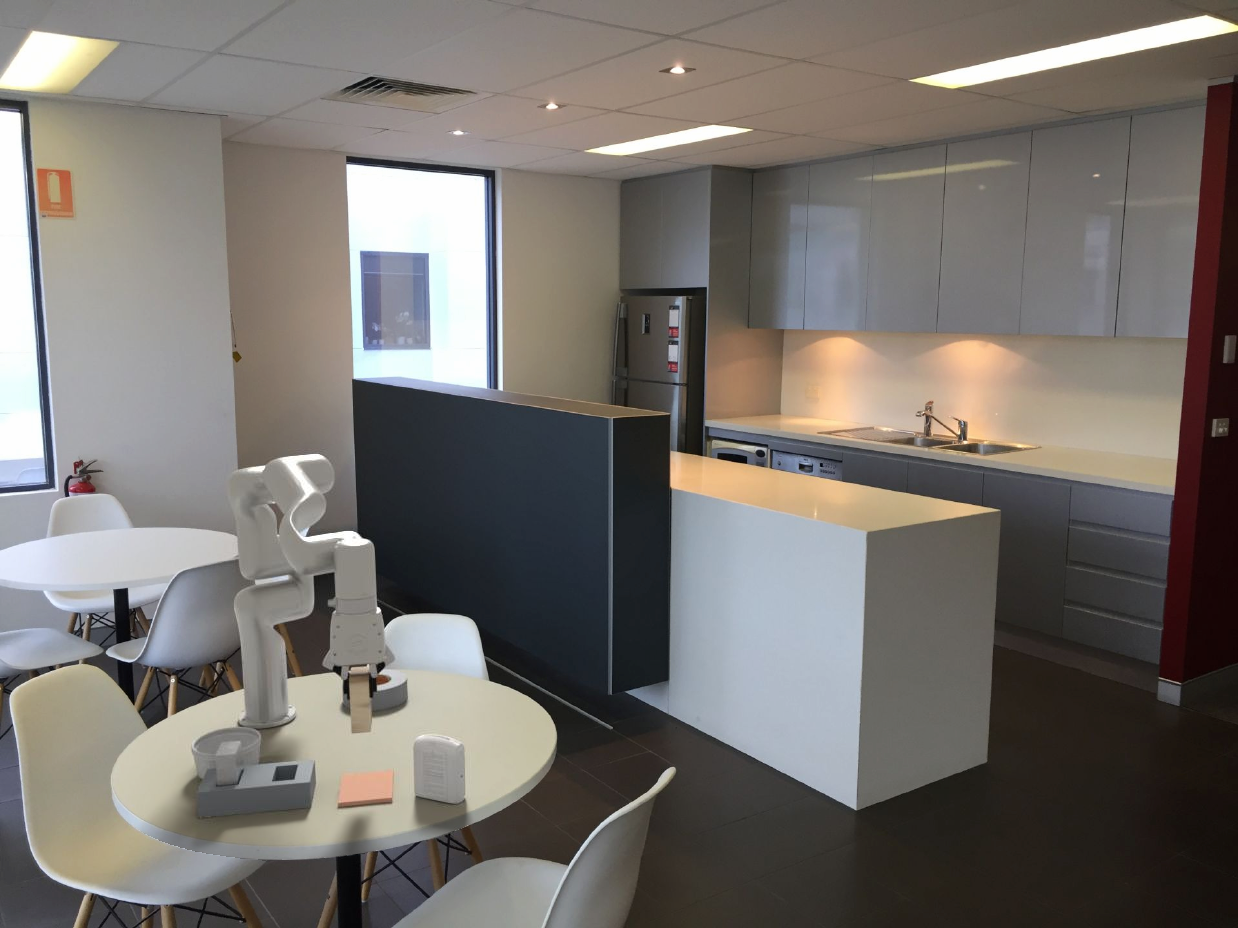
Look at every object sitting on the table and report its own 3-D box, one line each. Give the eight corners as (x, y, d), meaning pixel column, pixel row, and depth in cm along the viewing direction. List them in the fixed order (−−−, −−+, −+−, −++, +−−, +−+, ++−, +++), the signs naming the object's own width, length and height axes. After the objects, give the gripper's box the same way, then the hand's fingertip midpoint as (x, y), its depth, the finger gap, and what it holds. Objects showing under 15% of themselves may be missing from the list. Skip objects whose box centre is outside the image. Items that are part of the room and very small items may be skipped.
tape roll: (343, 691, 246) (342, 671, 245) (406, 685, 250) (406, 666, 249) (342, 714, 231) (341, 694, 231) (409, 708, 235) (408, 687, 234)
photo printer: (469, 796, 191) (467, 735, 189) (457, 806, 187) (455, 744, 185) (423, 787, 195) (421, 727, 193) (411, 797, 191) (408, 736, 189)
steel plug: (224, 796, 192) (221, 742, 190) (244, 794, 192) (240, 740, 191) (219, 811, 186) (215, 755, 184) (238, 809, 187) (235, 753, 185)
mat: (342, 778, 199) (342, 774, 199) (393, 773, 201) (393, 769, 201) (338, 806, 187) (337, 802, 187) (392, 801, 189) (392, 797, 189)
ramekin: (234, 791, 194) (232, 757, 193) (178, 782, 198) (176, 749, 197) (276, 762, 206) (274, 730, 205) (222, 754, 210) (220, 723, 209)
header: (209, 792, 193) (207, 768, 192) (316, 782, 197) (314, 759, 196) (198, 818, 183) (196, 792, 183) (311, 806, 187) (309, 781, 187)
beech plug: (353, 721, 195) (351, 667, 193) (372, 719, 195) (369, 666, 194) (351, 733, 189) (349, 677, 187) (370, 731, 189) (368, 676, 188)
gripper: (309, 612, 183) (314, 707, 186) (400, 606, 187) (404, 700, 189) (313, 601, 191) (318, 692, 193) (401, 596, 194) (404, 686, 196)
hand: (360, 695), depth 191 cm, fingers closed on beech plug, 3 cm apart
